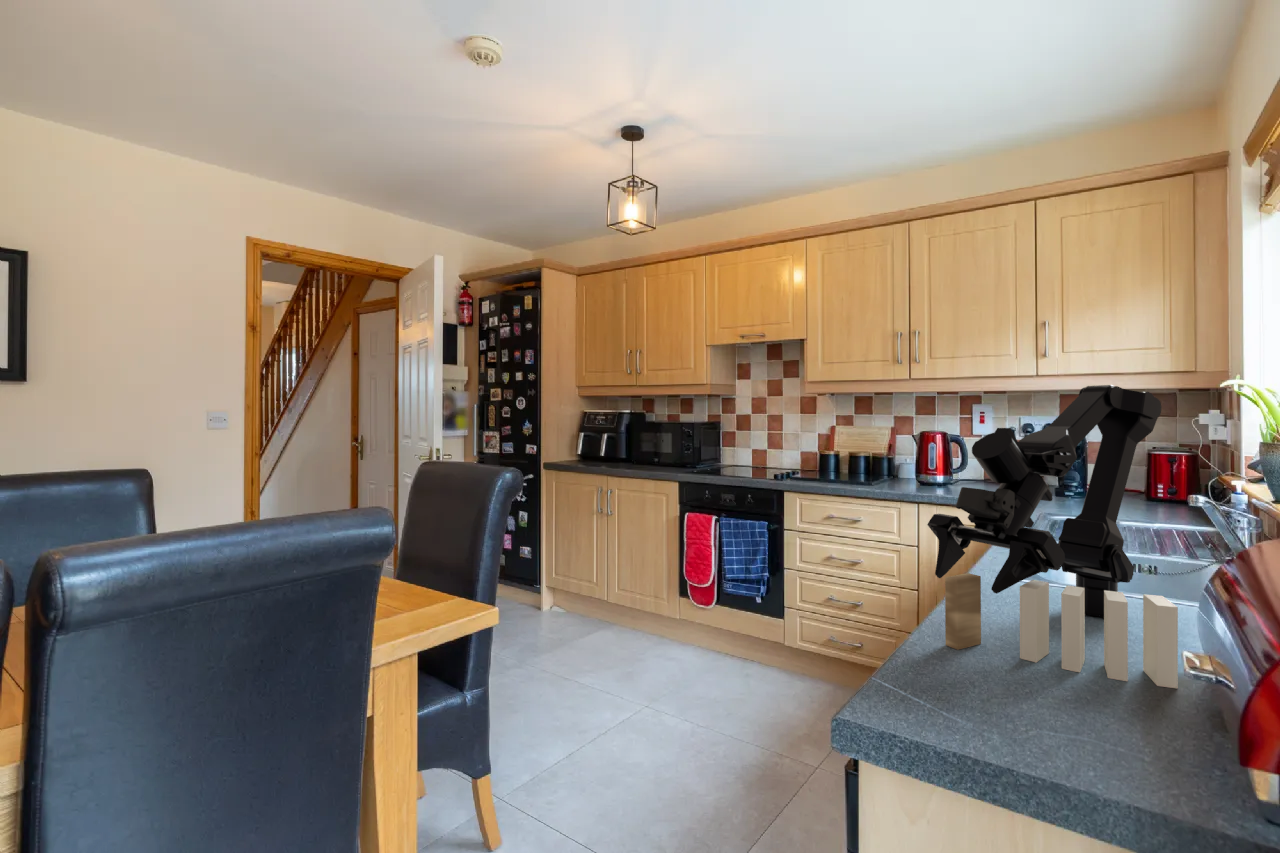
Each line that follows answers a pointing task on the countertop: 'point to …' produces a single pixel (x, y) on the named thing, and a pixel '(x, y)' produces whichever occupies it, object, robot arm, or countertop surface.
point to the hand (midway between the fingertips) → (964, 583)
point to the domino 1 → (963, 610)
